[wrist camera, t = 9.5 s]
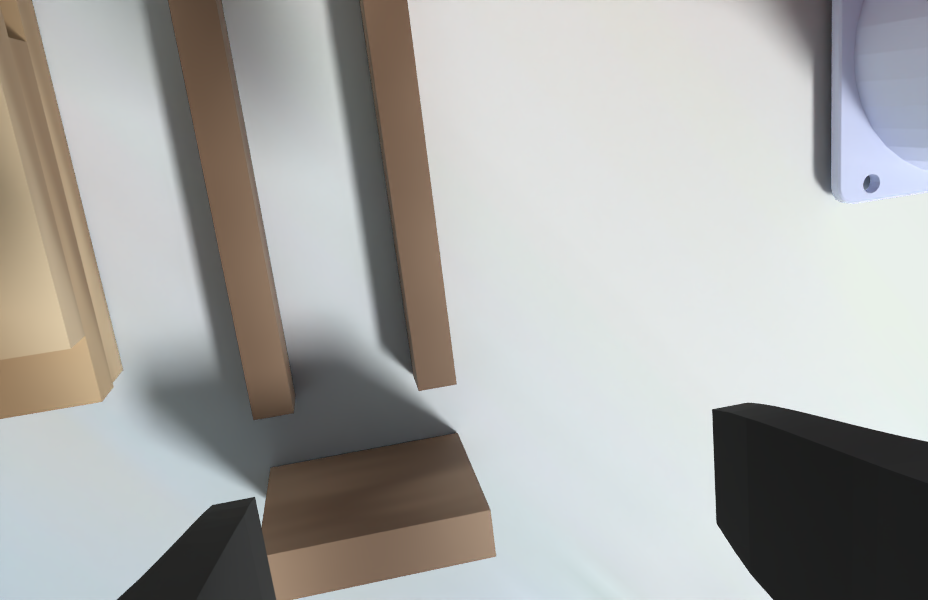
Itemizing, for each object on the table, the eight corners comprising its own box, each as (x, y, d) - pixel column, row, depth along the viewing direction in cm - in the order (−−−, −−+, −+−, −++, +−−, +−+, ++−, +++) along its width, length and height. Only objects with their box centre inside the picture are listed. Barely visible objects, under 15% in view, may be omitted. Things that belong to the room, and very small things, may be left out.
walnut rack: (367, -259, 17) (381, -382, 13) (462, 471, 22) (496, 556, 17) (126, -247, 16) (58, -373, 12) (278, 506, 21) (267, 604, 17)
